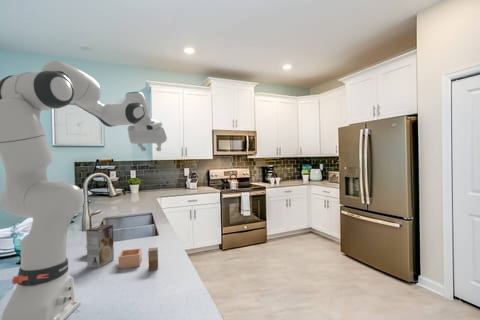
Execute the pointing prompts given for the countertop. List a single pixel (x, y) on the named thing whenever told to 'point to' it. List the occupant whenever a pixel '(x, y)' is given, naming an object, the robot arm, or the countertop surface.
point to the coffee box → (99, 245)
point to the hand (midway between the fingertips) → (151, 150)
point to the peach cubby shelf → (130, 258)
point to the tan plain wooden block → (153, 258)
